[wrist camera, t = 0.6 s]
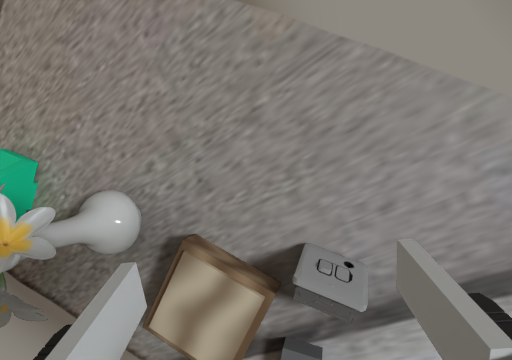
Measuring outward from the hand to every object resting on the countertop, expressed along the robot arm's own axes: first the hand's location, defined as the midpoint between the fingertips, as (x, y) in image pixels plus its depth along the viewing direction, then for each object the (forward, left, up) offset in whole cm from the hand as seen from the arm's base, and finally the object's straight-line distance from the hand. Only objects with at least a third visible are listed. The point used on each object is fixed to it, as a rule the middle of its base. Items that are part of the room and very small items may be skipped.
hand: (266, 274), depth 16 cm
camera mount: (+44, +20, -27) cm, 56 cm away
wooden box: (+6, +18, -27) cm, 33 cm away
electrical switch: (-6, +6, -27) cm, 28 cm away
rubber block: (-8, +19, -27) cm, 34 cm away
